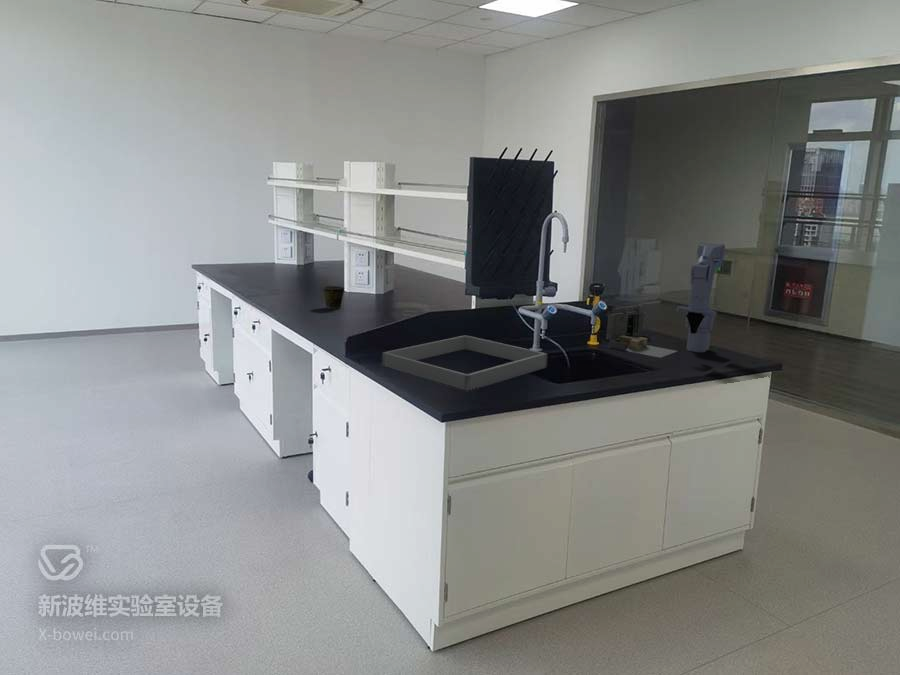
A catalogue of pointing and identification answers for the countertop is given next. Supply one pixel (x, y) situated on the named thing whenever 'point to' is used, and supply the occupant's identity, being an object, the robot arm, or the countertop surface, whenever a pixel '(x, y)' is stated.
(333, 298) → the ceramic cup
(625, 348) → the bracket
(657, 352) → the mat
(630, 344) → the t block
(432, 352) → the grey square frame
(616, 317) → the geiger counter
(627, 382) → the countertop surface
